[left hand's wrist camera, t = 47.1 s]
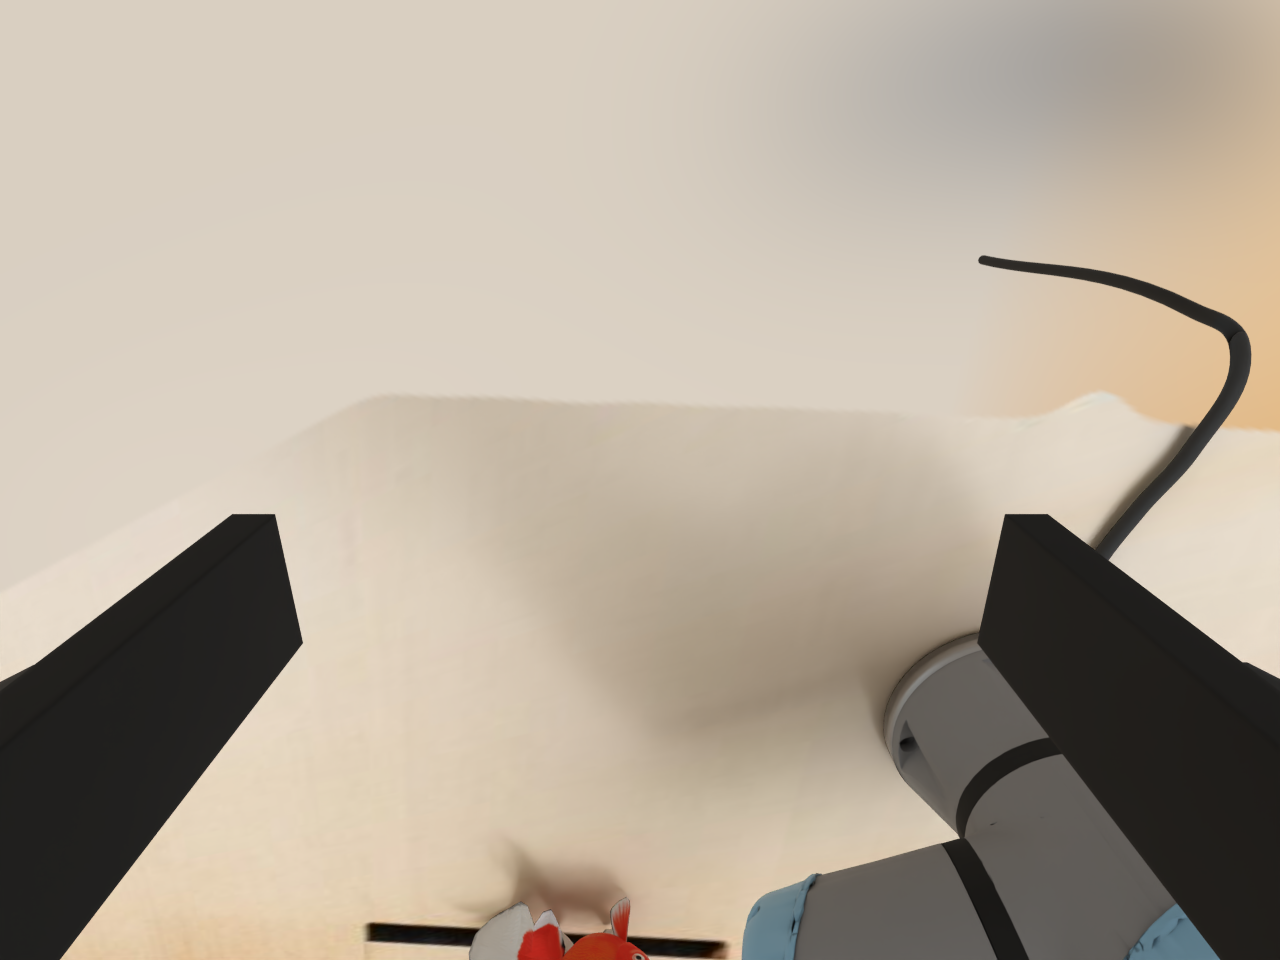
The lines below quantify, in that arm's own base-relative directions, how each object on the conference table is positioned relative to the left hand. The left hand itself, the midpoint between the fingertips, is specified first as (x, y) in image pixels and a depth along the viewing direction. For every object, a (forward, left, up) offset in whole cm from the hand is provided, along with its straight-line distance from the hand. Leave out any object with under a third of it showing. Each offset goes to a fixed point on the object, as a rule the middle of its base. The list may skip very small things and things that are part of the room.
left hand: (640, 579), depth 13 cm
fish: (+43, +29, -30) cm, 60 cm away
